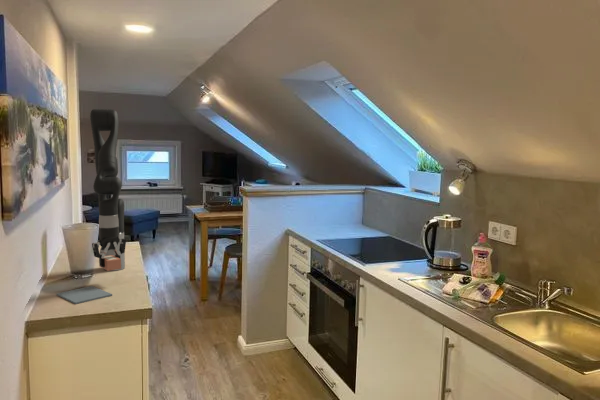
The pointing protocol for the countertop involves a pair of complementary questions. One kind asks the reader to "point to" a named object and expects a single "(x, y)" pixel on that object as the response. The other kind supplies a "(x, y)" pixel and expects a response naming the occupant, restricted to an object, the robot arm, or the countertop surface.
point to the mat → (84, 294)
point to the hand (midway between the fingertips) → (110, 265)
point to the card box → (112, 263)
